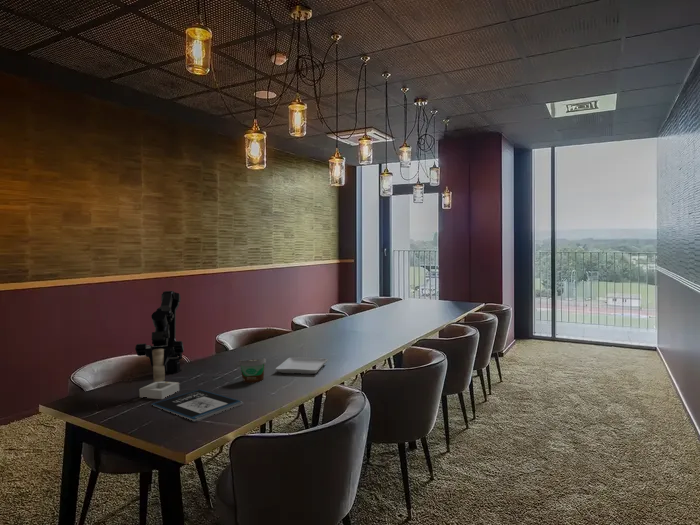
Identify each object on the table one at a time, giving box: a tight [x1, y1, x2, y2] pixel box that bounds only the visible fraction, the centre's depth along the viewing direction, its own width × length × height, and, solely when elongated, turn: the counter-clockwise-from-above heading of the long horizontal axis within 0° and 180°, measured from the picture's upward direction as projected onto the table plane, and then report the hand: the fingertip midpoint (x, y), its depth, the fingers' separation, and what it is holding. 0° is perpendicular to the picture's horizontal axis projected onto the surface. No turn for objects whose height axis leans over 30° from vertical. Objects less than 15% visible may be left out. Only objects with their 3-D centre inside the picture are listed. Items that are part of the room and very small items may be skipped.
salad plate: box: [275, 357, 329, 375], centre depth 227 cm, size 21×21×3 cm
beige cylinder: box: [152, 349, 166, 383], centre depth 194 cm, size 4×4×13 cm
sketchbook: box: [151, 388, 244, 423], centre depth 180 cm, size 22×30×2 cm
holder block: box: [138, 380, 180, 400], centre depth 194 cm, size 11×11×4 cm
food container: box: [238, 357, 267, 384], centre depth 208 cm, size 12×6×10 cm, turn 105°
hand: (158, 365), depth 193 cm, fingers closed on beige cylinder, 4 cm apart
